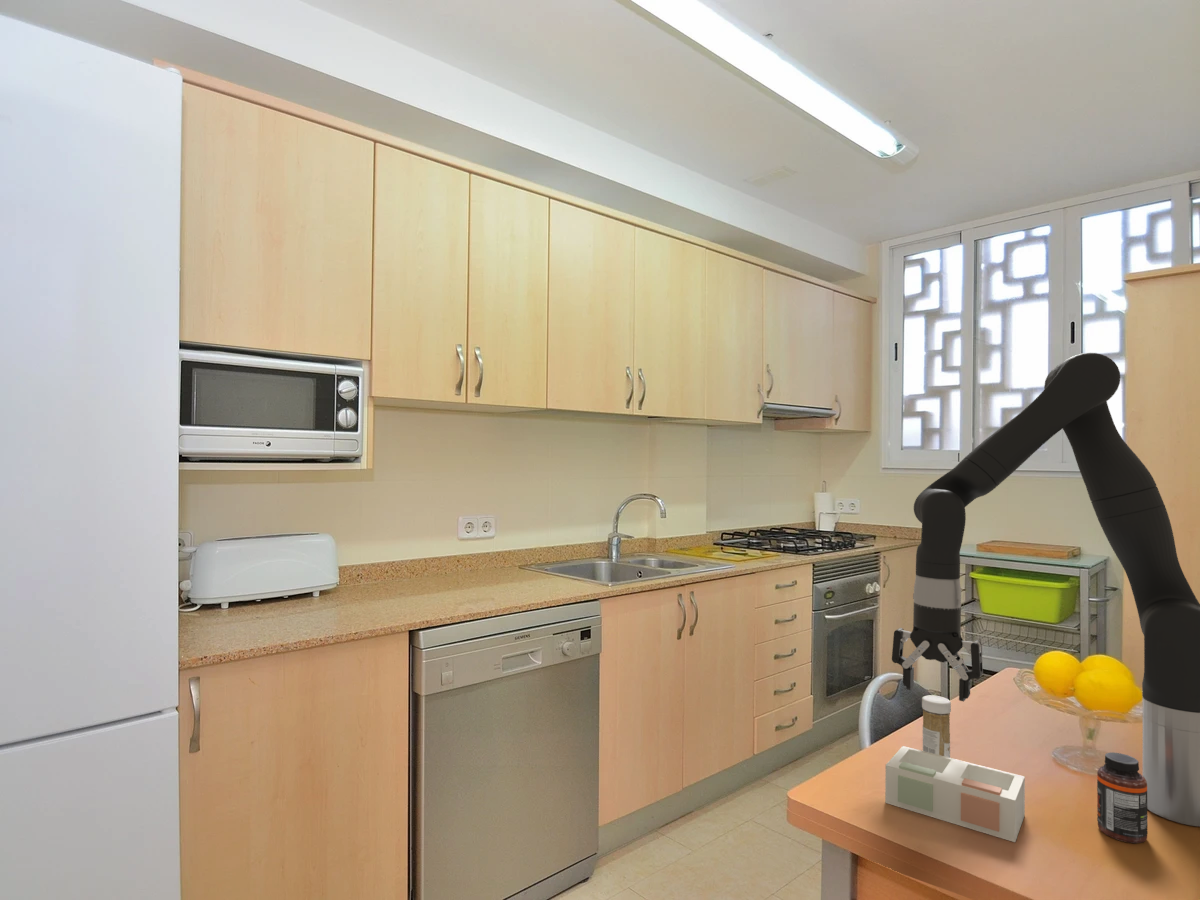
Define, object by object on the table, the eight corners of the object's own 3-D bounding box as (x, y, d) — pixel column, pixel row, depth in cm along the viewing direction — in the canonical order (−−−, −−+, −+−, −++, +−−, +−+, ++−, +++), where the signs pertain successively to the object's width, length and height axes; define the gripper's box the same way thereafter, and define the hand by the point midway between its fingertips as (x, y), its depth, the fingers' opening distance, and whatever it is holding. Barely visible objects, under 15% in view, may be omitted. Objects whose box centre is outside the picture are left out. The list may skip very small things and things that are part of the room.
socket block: (1024, 815, 107) (1024, 773, 107) (1014, 843, 99) (1014, 798, 99) (902, 781, 118) (902, 743, 118) (884, 803, 110) (884, 763, 110)
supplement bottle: (1098, 819, 106) (1098, 745, 106) (1147, 833, 102) (1147, 756, 102) (1095, 835, 101) (1095, 758, 102) (1147, 850, 98) (1147, 769, 98)
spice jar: (956, 781, 118) (956, 702, 119) (932, 782, 118) (932, 703, 118) (939, 769, 123) (940, 693, 123) (916, 770, 122) (916, 694, 123)
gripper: (986, 605, 120) (985, 698, 119) (900, 593, 128) (899, 680, 128) (978, 611, 114) (976, 710, 113) (888, 599, 123) (887, 690, 122)
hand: (935, 694), depth 121 cm, fingers open, 8 cm apart
